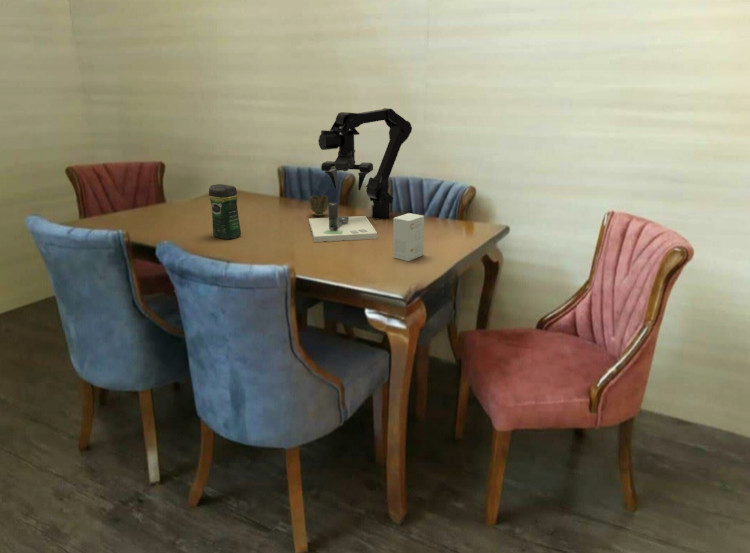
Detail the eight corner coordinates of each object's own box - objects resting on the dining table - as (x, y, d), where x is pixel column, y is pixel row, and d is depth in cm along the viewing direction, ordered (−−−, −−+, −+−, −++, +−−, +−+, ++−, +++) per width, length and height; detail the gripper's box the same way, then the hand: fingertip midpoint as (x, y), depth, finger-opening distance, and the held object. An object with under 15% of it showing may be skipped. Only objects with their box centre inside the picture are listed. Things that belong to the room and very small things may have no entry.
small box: (408, 251, 187) (408, 212, 182) (423, 255, 183) (425, 215, 178) (392, 257, 181) (392, 217, 176) (408, 261, 177) (409, 220, 172)
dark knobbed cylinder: (339, 220, 215) (339, 196, 212) (350, 220, 214) (349, 197, 210) (326, 229, 202) (325, 204, 199) (336, 230, 201) (336, 205, 198)
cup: (330, 213, 235) (329, 194, 232) (326, 218, 228) (326, 198, 225) (312, 213, 235) (311, 194, 232) (308, 218, 228) (307, 198, 226)
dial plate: (365, 220, 224) (365, 215, 223) (377, 238, 201) (377, 232, 200) (309, 223, 220) (308, 218, 219) (314, 242, 197) (314, 236, 196)
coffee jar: (245, 235, 205) (240, 184, 198) (228, 241, 199) (223, 188, 192) (226, 231, 210) (221, 181, 204) (209, 236, 204) (203, 185, 198)
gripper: (315, 150, 206) (317, 192, 211) (365, 151, 202) (365, 195, 207) (325, 146, 216) (326, 187, 222) (373, 147, 212) (373, 189, 217)
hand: (347, 189), depth 217 cm, fingers open, 9 cm apart
